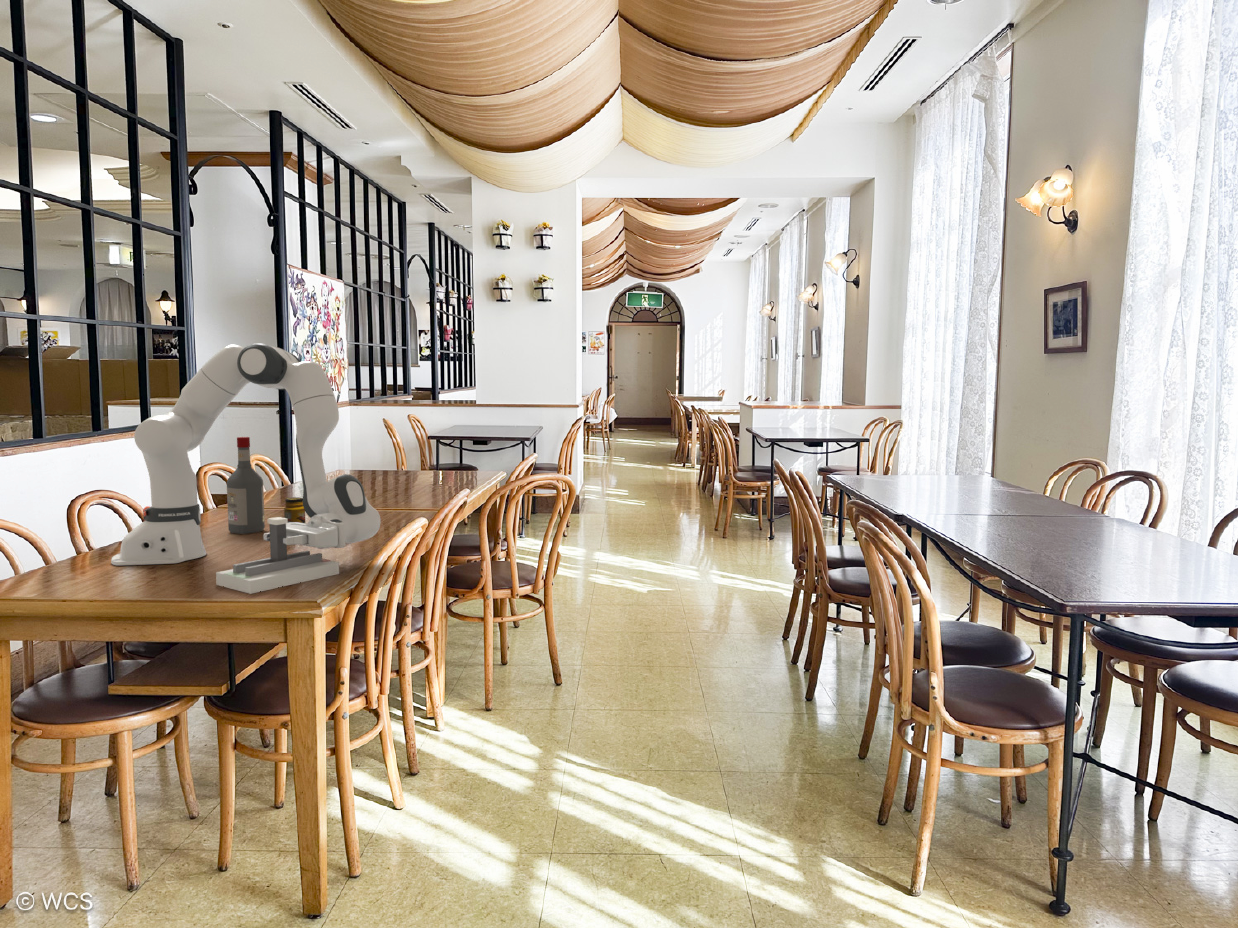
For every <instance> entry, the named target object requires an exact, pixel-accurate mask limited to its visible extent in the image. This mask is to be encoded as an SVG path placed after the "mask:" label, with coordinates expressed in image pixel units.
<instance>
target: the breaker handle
mask: <svg viewBox="0 0 1238 928" xmlns="http://www.w3.org/2000/svg"><path fill="white" fill-rule="evenodd" d="M287 523H288V519H287V518H284V517H281V516H277V517H270V518H267V525H269V533H270V541H269V547H270V550H269V551H270V558H271V559H269V560H270V563H271V562H276V561H281V560H286V559H287V554H288V547H287V546H288V545H285V544H283V538H284V537H286V524H287Z"/></svg>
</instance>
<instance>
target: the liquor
mask: <svg viewBox="0 0 1238 928" xmlns="http://www.w3.org/2000/svg"><path fill="white" fill-rule="evenodd" d="M236 447H237V466H236V467H237V468H236V469H235V470H234V471H233V472H232V474H231V475H229V477H228V478H227V481H226V500H227V501H226V503H227V522H228V523H227V524H228V531H229V533H231V534H237V535H250V534H254V533H256V534H257V533H259V532H261V531H262V532H263V531H264V529H265V528H266V522H265V500H264V499H265V498H264V497H265V496H264V495H265V494H264V480H263V478H262V476H261V475H260V474H259V473H258V472H257V471H256V470H255V469H254V468H253V467H252V464H251V452H250V448H251V439H250V437H249V436H241V437H239V436H238V437H236Z"/></svg>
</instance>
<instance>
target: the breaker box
mask: <svg viewBox="0 0 1238 928" xmlns="http://www.w3.org/2000/svg"><path fill="white" fill-rule="evenodd" d="M269 559H271V557H268V558H267V557H266V558H262V559H256V560H252V561H251V560H250V561H245V562H240V563H235V564H232V569H231V568H230V569H227V570H222V571H216V572H215V576H216V578H215V579H216V580H215V582H216V586H220V587H223V586H224V587H223V588H227V589H231V590H234V591H235V590H236V591H239V592H242V593H245V594H249V595H251V594H255V593H259V592H260V591H261V592H264V591H268V590H273V589H278V587H279V588H282V586H283V587H286V586H290V585H297V584H301V583H305V582H309V581H313V580H317V579H318V580H319V579H322V578H327V577H331V576H334V575H339V574H340V562H339V561H335V560H331V559H326V558H323V553H320V552H318V553H314V554H311V551H310V550H303V551H298V552H294V553H293V552H292V553H287V559H286V560H281V561H276V562H271V563H270V560H269ZM300 582H301V583H300Z"/></svg>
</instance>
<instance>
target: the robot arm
mask: <svg viewBox="0 0 1238 928" xmlns="http://www.w3.org/2000/svg"><path fill="white" fill-rule="evenodd" d="M249 383H252V384H255V385H259V386H261V387H264V388H267V389H275V390H278V391H286V392H287V394H288V396H289V399H290V402H291V406H292V409H293V413H294V419H295V427H296V428H295V429H296V433H295V434H296V435H295V447H296V453H297V459H298V465H299V470H300V474H301V480H302V487H303V489H302V490H303V493H302V494H303V495H302V498H303V507H304V510H305V514H306V515H307V516H308V517H309V521H308V522H307V523H306V522H305V523H306V524H305V523H299V522H290V523H287V524H286V537H284V538H283V544H285V545H287V546H291V545H299V546H300V545H301V546H306V547H310V548H316V549H318V550H323V549H330V548H331V549H332V548H335V549H341V548H345V547H346V544H354V543H358V542H363V541H366V540H369V539H371V538H372V537H374V536H375V535H376V534H377V533H378V531H379V530H380V527H381V521H382V520H381V515H380V513H379V511H378V510H377V509H376V508H374V507H373V506H372V505H371V504H370V502H369V500H368V498H367V496H366V493H365V489H364V485H363V484H362V482H361V481H360V480H359V479H358V478H357V477H355V476H353V475H351V474H348V473H347V474H346V473H345V474H344V473H343V474H340V475H338V476H336V477H334V478H331V479H329V480H328V481H327V477H326V476H327V475H326V470H325V465H324V459H323V450H324V446H325V443H326V442H327V440H328V439H329V437H330V435H331V434H332V432H334V430H335V428H336V427H337V425H338V423H339V419H340V411H339V406H338V402H337V400H336V396H335V393H334V390H333V388H332V385H331V382H330V380H329V378H328V376H327V374H326V372H325V370H324V369H323V367H322V366H321V364H319V363H317V362H315V361H310V360H307V361H306V360H305V361H301V359H299V358H298V357H297V356H296V355H295V354H293V353H291V352H288V351H287V350H285V349H283V348H280V347H277V346H272V345H269V344H266V343H253V344H249V345H246V346H245V347H243V346H241V345H237V344H229V345H226V346H225V347H222V349H221V350H219V351H218V352H216V353H215V354H214V355H213V356H212V357H211V358H209V360H208V361H207V362H205V364H203V365H202V367H201V368H200V369H199V370H198V371H197V372H196V373H195V374H194V376H193V377H191V379H190V380H189V381H188V382H187V383H186V384H185V386H184V387H183V388H182V389H181V392H180V395H179V396H178V397H179V398H178V399H177V401H176V402H175V405H174V406H173V407H172V408H171V409H170V411H168V412H167V413H165V414H157V415H152V416H150V417H148V418H146V419H145V420H143V421H142V422H141V423H139V424H138V425H137V426H136V428H135V430H134V437H133V439H134V442H135V445H136V447H137V448H138V449H139V450H140V451H141V453H142V455H143V459H144V463H145V466H146V468H147V472H148V476H149V483H150V485H149V486H150V498H151V499H150V501H151V506H150V505H149V506H145V507H144V508H142V509H143V510H142V512H143V513H142V517H143V520H144V521H143V522H142V523H140V524H139V525H137V526H136V527H134V529H132V530H131V531H130V532H128V533H126V535H125V536H124V537H123V539H122V541H121V544H120V551H119V553H117V554H115V555H113V556H112V557H111V561H110V563H111V564H112V566H137V565H138V566H139V565H140V566H141V565H164V564H167V565H168V564H178V563H182V562H185V561H190V560H194V559H195V560H196V559H198V558H202V557H205V556H206V555H207V551H206V548H205V545H204V542H203V537H202V532H201V526H200V524H201V520H202V517H201V508H200V504H199V503H198V502H199V501H198V484H197V483H198V481H197V475H196V473H195V472H194V470H193V468H192V465H191V462H190V458H189V454H188V452H192V451H193V450H194V449H196V448H197V447H199V446H200V445H201V444H202V443H203V441H204V439H205V437H206V435H207V434H208V432H209V430H211V427H212V426H213V424H214V423H215V421H216V420H217V418H218V417H219V415H220V414H221V413H222V412H223V411H224V410H225V409H226V408H227V407H228V406H229V404H231V402H232V401H233V400H234V399H235V398H236V397H237V395H238V394H239V393H240V392H241V391H242V390H243V389H244V387H246V386H247V385H248V384H249ZM263 541H267V542H270V532H264V533H263Z"/></svg>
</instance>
